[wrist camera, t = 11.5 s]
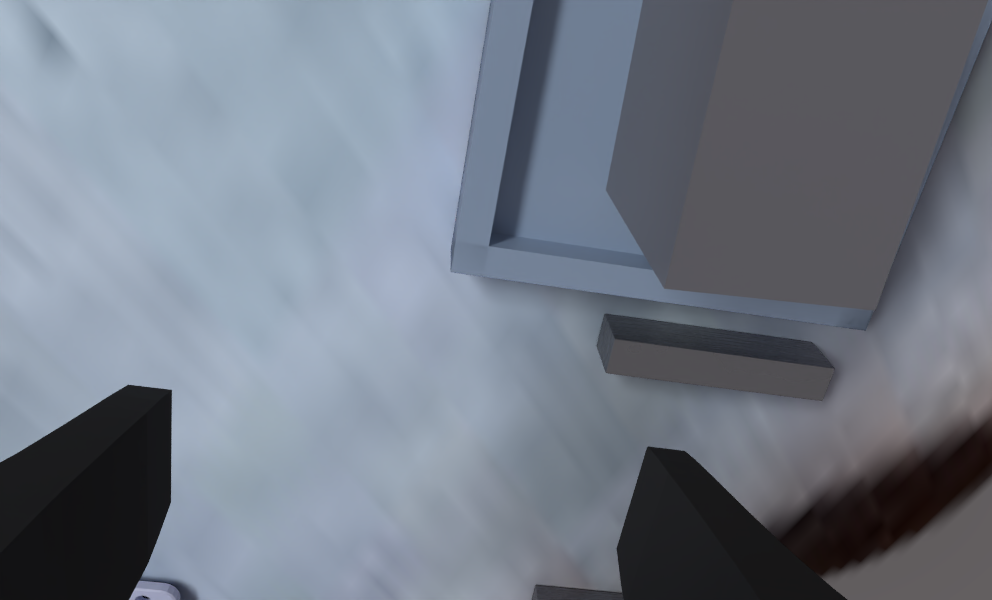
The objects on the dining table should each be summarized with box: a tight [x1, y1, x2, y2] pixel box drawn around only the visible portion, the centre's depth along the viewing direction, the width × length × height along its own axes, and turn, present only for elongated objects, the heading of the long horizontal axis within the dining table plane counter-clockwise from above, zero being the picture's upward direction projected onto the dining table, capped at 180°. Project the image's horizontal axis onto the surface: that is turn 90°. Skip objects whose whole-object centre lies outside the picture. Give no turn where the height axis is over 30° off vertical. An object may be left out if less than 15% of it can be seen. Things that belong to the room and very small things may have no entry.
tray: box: [451, 0, 992, 331], centre depth 18 cm, size 11×12×2 cm
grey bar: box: [606, 0, 988, 311], centre depth 16 cm, size 4×8×6 cm, turn 172°
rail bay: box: [532, 314, 835, 600], centre depth 24 cm, size 6×11×2 cm, turn 170°
